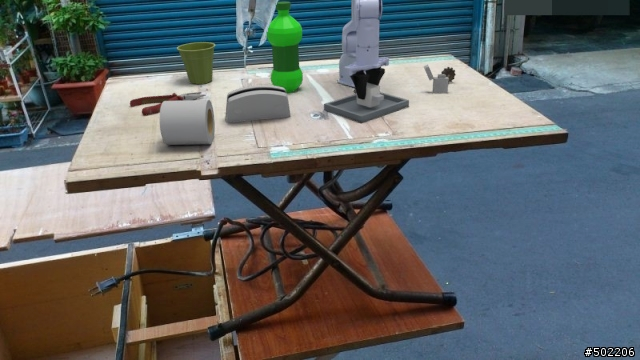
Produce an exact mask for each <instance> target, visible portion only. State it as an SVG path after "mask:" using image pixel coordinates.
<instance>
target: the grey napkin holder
mask: <svg viewBox="0 0 640 360" xmlns="http://www.w3.org/2000/svg"><path fill="white" fill-rule="evenodd" d="M226 95H227V96H226V107H225V122H226V123H238V122H249V121H258V120H269V119H270V120H271V119H279V118H280V117H281V118H289V117H290V118H291V109H290V103H289V96H288V92H286V90H285V89H284V88H283V87H279V86H274V85H273V84H272V85H271V84H270V85H269V84H257V85H256V84H255V85H249V86H243V87H240V88H236V89H233V90H231V91H229V92H227V94H226Z"/></svg>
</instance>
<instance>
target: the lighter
mask: <svg viewBox="0 0 640 360" xmlns="http://www.w3.org/2000/svg"><path fill="white" fill-rule="evenodd" d="M423 68H424V70H425V73H426V76H427V78H428V80H429V81H432V90H431V92H432V94H448V93H449V83H448V81H449V78H448V77H446V75H444V74H441V73H438V74H437V76H433V73H432V71H431V69H430V66H429V64H425V65H424V66H423Z"/></svg>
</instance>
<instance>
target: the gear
mask: <svg viewBox="0 0 640 360" xmlns="http://www.w3.org/2000/svg"><path fill="white" fill-rule="evenodd" d="M455 72H456V70H455V69H454V68H453V67H450V66H447V68H443V70H441V73H440V74H444V75H446V77H448V78H449V81H448V84H449V83H452V82H453V80H455V76H457V73H455Z"/></svg>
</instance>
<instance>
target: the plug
mask: <svg viewBox="0 0 640 360" xmlns="http://www.w3.org/2000/svg"><path fill="white" fill-rule="evenodd" d="M380 92H381V86H380V85H379V86H378V85H374V84H370V83H367V86H366V96H365V99H364V100H362V99H359V98H358V97H357V104H360V105H364V106H367V107H370V108H371V107H374V106H377V105H379V103H380V101H382V100H384V95H381V94H380ZM353 94H354V95H355V94H357V92H356V89H355V88H354V89H353Z"/></svg>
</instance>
